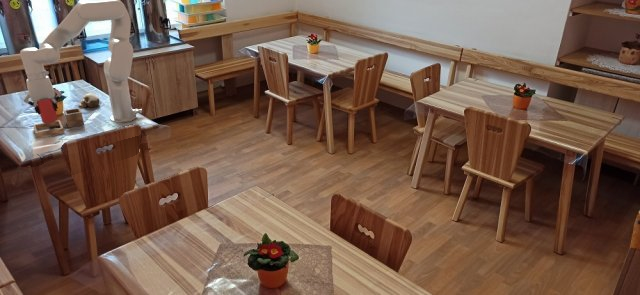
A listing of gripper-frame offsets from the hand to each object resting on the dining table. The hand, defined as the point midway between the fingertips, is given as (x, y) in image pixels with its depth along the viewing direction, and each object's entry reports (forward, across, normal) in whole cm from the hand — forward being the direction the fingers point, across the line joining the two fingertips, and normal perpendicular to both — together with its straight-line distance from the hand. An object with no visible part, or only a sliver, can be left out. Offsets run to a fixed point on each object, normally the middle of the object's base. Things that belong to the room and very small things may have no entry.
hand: (47, 111), depth 227 cm
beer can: (+5, 0, 0) cm, 5 cm away
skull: (+12, -21, -27) cm, 36 cm away
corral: (+10, +2, 0) cm, 10 cm away
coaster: (+11, -9, +6) cm, 15 cm away
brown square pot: (+11, -10, -4) cm, 15 cm away
